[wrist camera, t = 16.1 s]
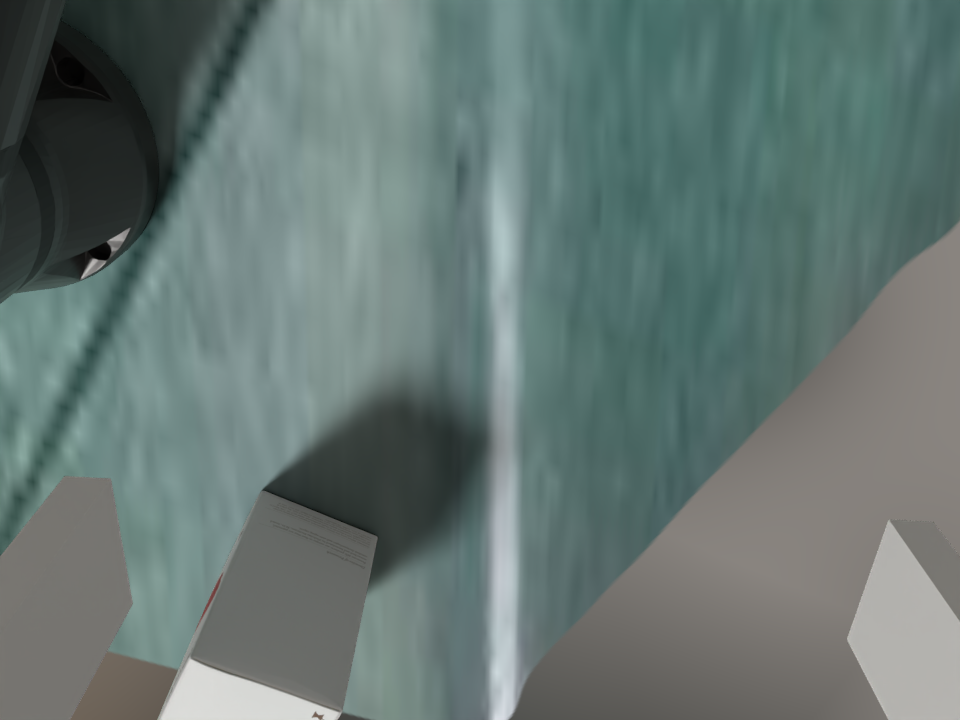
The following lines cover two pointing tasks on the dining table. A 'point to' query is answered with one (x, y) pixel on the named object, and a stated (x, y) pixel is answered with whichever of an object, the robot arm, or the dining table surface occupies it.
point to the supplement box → (278, 621)
